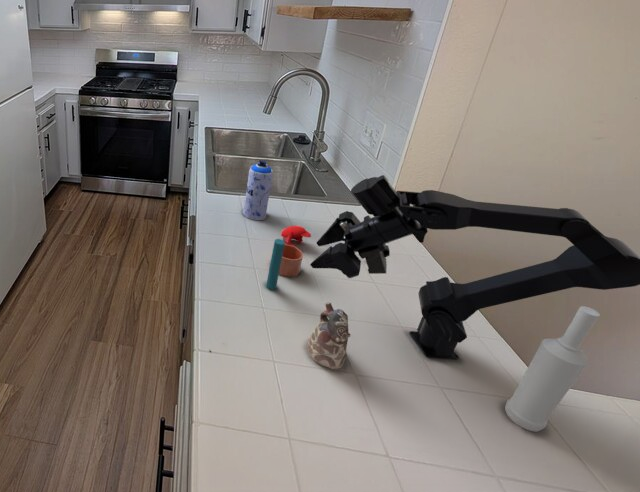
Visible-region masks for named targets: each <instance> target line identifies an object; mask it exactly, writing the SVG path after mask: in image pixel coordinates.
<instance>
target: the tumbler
mask: <svg viewBox="0 0 640 492" xmlns="http://www.w3.org/2000/svg"><path fill="white" fill-rule="evenodd" d="M303 259H304V253H303V252H302V250H301V249H300V248H298V247H297V246H296V247H294V246H292V245H288V244H286V243H285V246H284V251H283V255H282V260H281V265H280V270H279V275H280V276H284V277H288V278H291V277H292V278H293V277H297V276H298V275H299V274H300V272H301V271H300V270H301V266H302V262H303Z"/></svg>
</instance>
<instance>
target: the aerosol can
mask: <svg viewBox="0 0 640 492" xmlns="http://www.w3.org/2000/svg"><path fill="white" fill-rule="evenodd" d="M273 176H274V170H273V169H272V168H271V166H269V165H268V164H267V161H266V160H264V159H260V160H259V161H258V162H257V163H255V164H253V165H251V166H250V167H249V171H248V177H247V184H246V191H245V192H246V193H245V197H244V205H243V209H242V214H243V216H244V217H245V218H247V219H250V220H253V221H262V220H265V219H266V218H267V211H268V205H269V199H270V198H269V197H270V193H271V187H272V183H273V182H272V181H273Z"/></svg>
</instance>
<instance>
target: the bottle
mask: <svg viewBox="0 0 640 492" xmlns="http://www.w3.org/2000/svg"><path fill="white" fill-rule="evenodd" d="M600 316H601V314H600V312H599V311H597V309H594V308H592V307H588V306H584V305H581V306H580V307H579V308H578V310H577V311H576V313H575V315H574V317H573V319H572V320H571V322H570V323H569V325H568V327H567V328H566V330H565V331H564V333H563V335H562V336H559V337H557V338H552V337H551V338H549V337H548V338H544V339H542V341H541V343H540V344H539V347H538V348H537V350H536V352H535V354H534V356H533V357H532V359H531V361H530V363H529V365H528V367H527V369H526V371H525V372H524V374H523V376H522V378H521V380H520V381H519V384H518V386H517V387H516V389H515V391H514V393H513V394H512V397H510V398H508V399H507V401H506V403H505V407H504V410H505V413H506V415H507V417H508V418H509V419H510V420H511V422H512V421H513V423H514V424H516V425H517V426H519V427H521V428H522V429H524V430H527V431H530V432H535V433H539V432H540V431H542V430H544V429H545V428H546V427H547V425H548V419H549V418H550V417H551V415H552V414H553V412H554V411H555V410H556V408H557V407H558V405H559V404H560V403H561V401H562V400H563V399H564V397H565V396H566V395H567V393H568V392H569V391H570V389H571V388H572V386H573V385H574V384H575V382H576V381H577V379H578V378H579V377H580V375H581V374H582V373H583V371H584V370H585V368H586V367H587V366H588V364H589V359H588V358H587V356H586V355H585V353H584V352H583V351H582V347H581V344H582V343H583V341H584V340H585V338H586V337H587V335H588V334H589V332H590V331H591V329H592V327H593V326H594V325H595V323H596V322H597V321H598V320H599V317H600Z"/></svg>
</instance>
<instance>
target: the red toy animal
mask: <svg viewBox="0 0 640 492" xmlns="http://www.w3.org/2000/svg"><path fill="white" fill-rule="evenodd" d="M280 236H281V237H282V238H283V241H284V242H285V244H288V245H292V246H294V247H296V248H297V246H296V245H295V244H293V243H292V240H294V241H297V243H298V244H302V242H303V241H304V240H303V237H304V238H311V236H312V235H311V233H310V232H309V231H308V230H306V229H305V227H303V226H301V225H291V226H287V227H286V228H283V230H282V231H281V233H280Z"/></svg>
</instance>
